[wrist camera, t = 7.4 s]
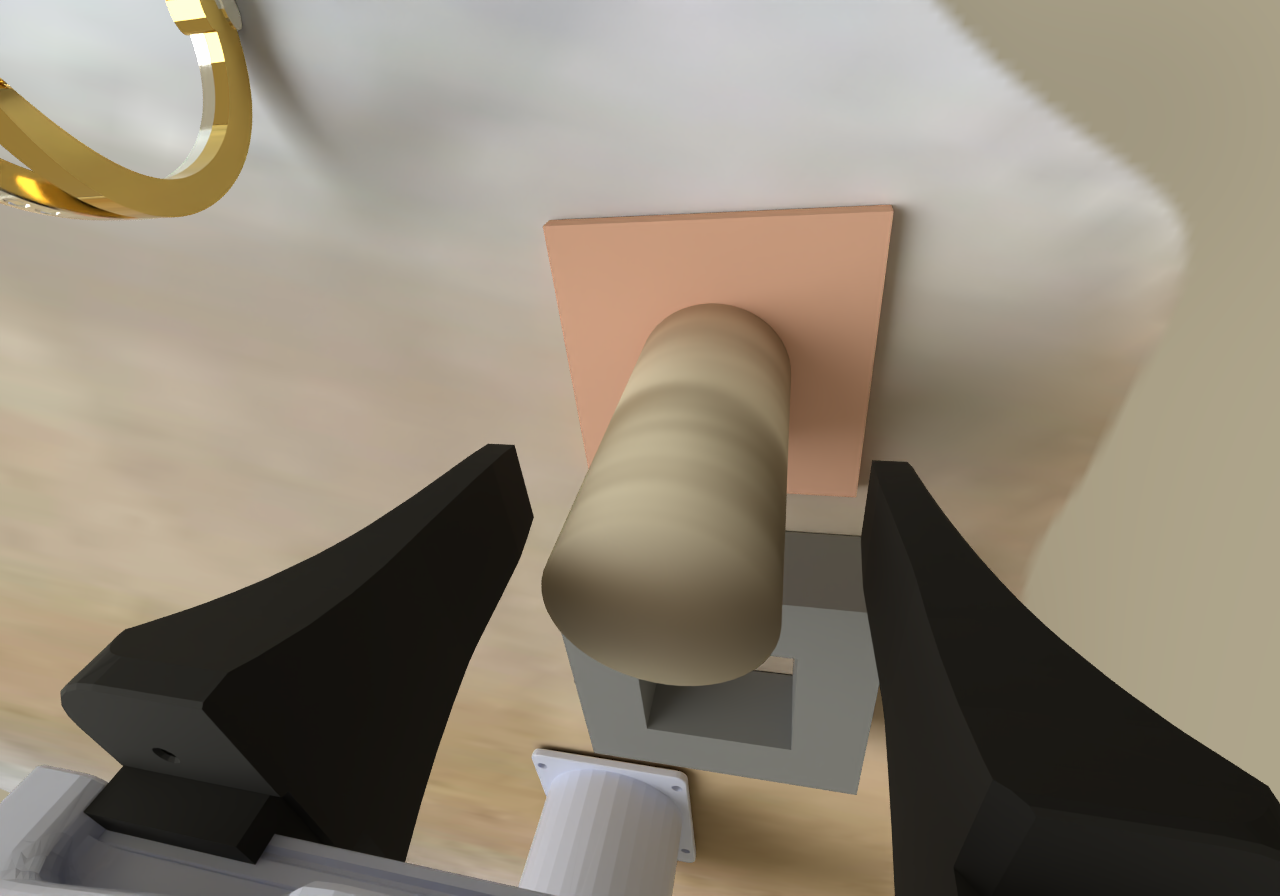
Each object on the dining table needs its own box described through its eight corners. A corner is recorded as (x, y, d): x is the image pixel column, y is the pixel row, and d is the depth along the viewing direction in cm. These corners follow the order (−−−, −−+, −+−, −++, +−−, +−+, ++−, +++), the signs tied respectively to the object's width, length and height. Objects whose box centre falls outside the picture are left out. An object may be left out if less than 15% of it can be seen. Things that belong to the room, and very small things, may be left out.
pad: (855, 486, 18) (856, 497, 18) (595, 472, 20) (591, 482, 20) (890, 205, 14) (893, 211, 13) (549, 220, 15) (543, 226, 15)
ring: (74, -193, 13) (-659, -374, 6) (205, -222, 12) (-474, -458, 6) (234, 175, 17) (-113, 289, 10) (338, 169, 16) (34, 289, 10)
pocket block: (851, 718, 25) (856, 794, 23) (612, 686, 27) (594, 752, 25) (882, 538, 19) (893, 615, 17) (575, 516, 21) (547, 581, 19)
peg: (788, 438, 17) (777, 699, 11) (647, 433, 18) (564, 671, 12) (794, 302, 15) (785, 532, 9) (632, 304, 16) (518, 514, 10)
